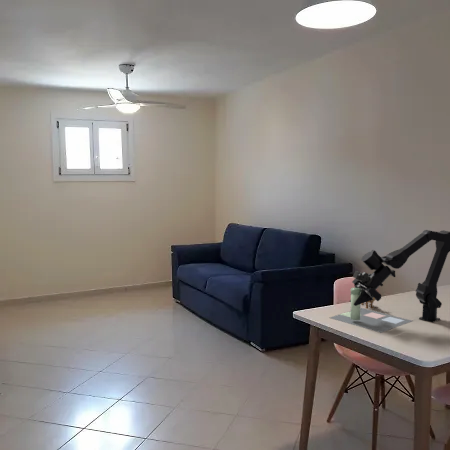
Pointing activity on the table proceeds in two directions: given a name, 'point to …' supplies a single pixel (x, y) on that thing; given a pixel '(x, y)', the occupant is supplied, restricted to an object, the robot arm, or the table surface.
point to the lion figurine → (369, 302)
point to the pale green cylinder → (354, 296)
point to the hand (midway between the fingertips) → (352, 303)
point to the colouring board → (372, 320)
